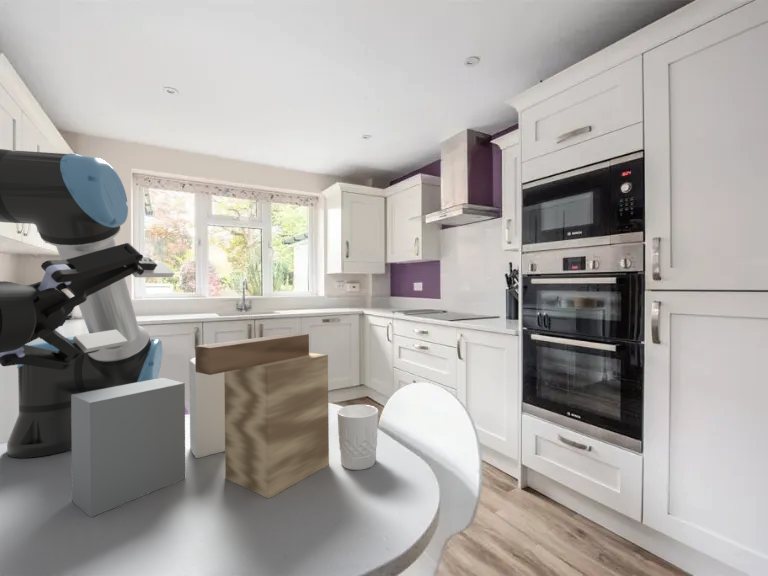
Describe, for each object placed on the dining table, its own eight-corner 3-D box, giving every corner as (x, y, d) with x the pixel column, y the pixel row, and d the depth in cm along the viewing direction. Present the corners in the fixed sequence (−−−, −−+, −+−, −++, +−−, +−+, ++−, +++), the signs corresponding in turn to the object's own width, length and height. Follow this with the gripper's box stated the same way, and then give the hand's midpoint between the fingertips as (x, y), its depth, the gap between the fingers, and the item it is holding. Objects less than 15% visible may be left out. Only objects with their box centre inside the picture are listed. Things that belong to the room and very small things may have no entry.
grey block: (71, 500, 60) (71, 394, 60) (163, 466, 72) (162, 377, 72) (90, 517, 56) (90, 402, 56) (185, 478, 67) (184, 383, 67)
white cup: (345, 475, 68) (344, 419, 68) (333, 457, 75) (332, 407, 75) (385, 466, 71) (384, 413, 71) (369, 450, 78) (369, 402, 78)
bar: (195, 371, 58) (195, 345, 58) (294, 353, 74) (294, 332, 74) (210, 375, 56) (209, 347, 56) (309, 355, 72) (308, 334, 72)
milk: (195, 459, 75) (194, 348, 75) (190, 449, 80) (188, 345, 80) (227, 450, 79) (226, 345, 79) (220, 441, 84) (218, 342, 84)
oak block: (225, 478, 67) (224, 360, 67) (286, 450, 79) (285, 349, 79) (268, 498, 60) (267, 367, 60) (328, 464, 72) (327, 354, 72)
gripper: (1, 194, 36) (170, 224, 56) (-110, 386, 39) (87, 347, 60) (51, 244, 35) (205, 255, 55) (-68, 435, 38) (118, 379, 59)
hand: (143, 303), depth 58 cm, fingers open, 13 cm apart
